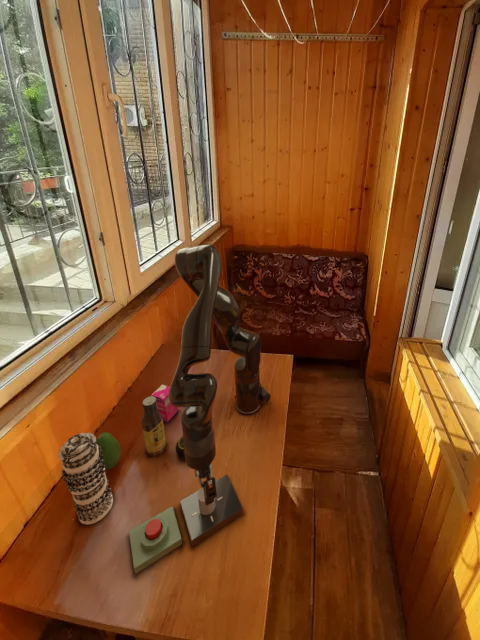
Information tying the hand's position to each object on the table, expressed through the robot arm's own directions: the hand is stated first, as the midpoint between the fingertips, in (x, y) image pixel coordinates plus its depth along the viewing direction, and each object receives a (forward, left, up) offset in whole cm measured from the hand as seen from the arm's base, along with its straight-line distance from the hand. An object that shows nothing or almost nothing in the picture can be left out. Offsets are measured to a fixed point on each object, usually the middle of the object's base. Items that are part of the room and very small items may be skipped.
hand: (204, 487), depth 82 cm
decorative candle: (+26, -18, -10) cm, 33 cm away
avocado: (+22, -30, -10) cm, 38 cm away
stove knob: (0, 0, -8) cm, 8 cm away
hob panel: (-1, 0, -10) cm, 10 cm away
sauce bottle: (+8, -28, -10) cm, 31 cm away
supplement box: (+2, -40, -10) cm, 41 cm away
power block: (+13, -1, -10) cm, 17 cm away
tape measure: (-1, -21, -10) cm, 23 cm away
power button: (+13, -1, -7) cm, 15 cm away
